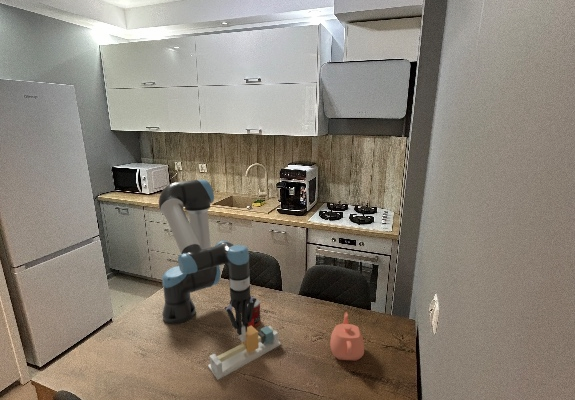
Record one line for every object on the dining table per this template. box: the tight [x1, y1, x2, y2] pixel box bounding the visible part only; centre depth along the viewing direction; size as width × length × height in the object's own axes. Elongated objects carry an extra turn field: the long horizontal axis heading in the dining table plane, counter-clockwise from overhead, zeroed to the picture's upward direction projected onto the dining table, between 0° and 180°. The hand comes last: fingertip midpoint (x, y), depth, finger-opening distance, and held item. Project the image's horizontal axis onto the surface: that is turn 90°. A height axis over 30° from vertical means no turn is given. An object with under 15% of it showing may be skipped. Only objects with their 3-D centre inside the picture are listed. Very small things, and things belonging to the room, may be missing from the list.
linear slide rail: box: [207, 325, 282, 380], centre depth 125 cm, size 8×29×7 cm, turn 129°
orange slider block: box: [240, 325, 259, 353], centre depth 125 cm, size 5×5×8 cm
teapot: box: [329, 311, 365, 362], centre depth 126 cm, size 13×20×12 cm, turn 175°
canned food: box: [247, 297, 261, 328], centre depth 144 cm, size 8×8×11 cm
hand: (242, 339), depth 123 cm, fingers closed
